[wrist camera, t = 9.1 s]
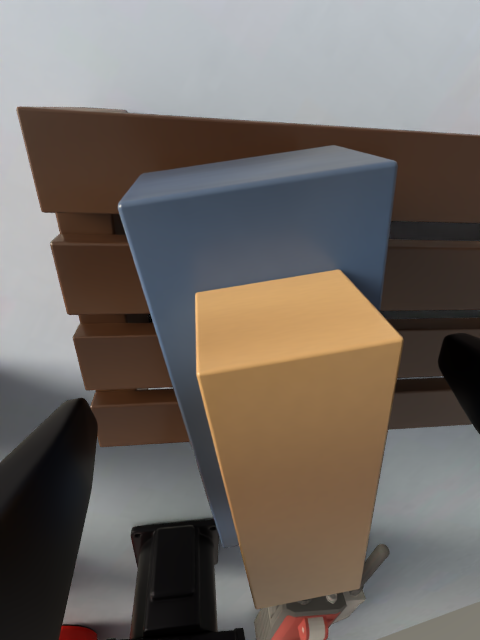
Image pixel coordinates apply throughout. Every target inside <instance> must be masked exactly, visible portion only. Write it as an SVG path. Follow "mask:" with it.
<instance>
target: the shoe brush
mask: <svg viewBox="0 0 480 640" xmlns="http://www.w3.org/2000/svg"><path fill="white" fill-rule="evenodd" d="M397 169H398V165H397V162H396V161H394V160H390V159H386V158H383V157H379V156H375V155H371V154H367V153H363V152H359V151H355V150H351V149H348V148H344V147H340V146H336V145H331V146H324V147H317V148H311V149H304V150H297V151H290V152H284V153H277V154H270V155H263V156H257V157H250V158H243V159H237V160H230V161H223V162H216V163H210V164H203V165H196V166H189V167H183V168H176V169H169V170H163V171H156V172H149V173H143V174H141V175H140V176H139V177H138V178H137V180H136V181H135V182H134V184H133V185H132V186H131V187H130V189H129V190H128V191H127V193H126V194H125V195H124V196H123V198H122V199H121V200H120V202H119V203H118V211H119V214H120V218H121V221H122V224H123V227H124V231H125V234H126V237H127V240H128V243H129V247H130V250H131V253H132V256H133V260H134V263H135V266H136V269H137V272H138V276H139V279H140V282H141V285H142V289H143V292H144V295H145V298H146V301H147V305H148V308H149V311H150V314H151V318H152V321H153V324H154V327H155V331H156V334H157V337H158V340H159V343H160V347H161V350H162V353H163V356H164V360H165V363H166V366H167V369H168V372H169V376H170V379H171V382H172V385H173V389H174V392H175V395H176V398H177V401H178V405H179V408H180V411H181V414H182V418H183V421H184V424H185V427H186V431H187V434H188V437H189V440H190V443H191V447H192V450H193V453H194V456H195V460H196V463H197V466H198V469H199V472H200V476H201V479H202V482H203V485H204V489H205V492H206V495H207V498H208V501H209V505H210V508H211V511H212V514H213V518H214V521H215V524H216V527H217V530H218V534H219V537H220V540H221V543H222V546H223V548H228V547H233V546H238V545H239V546H240V550H241V554H242V558H243V562H244V566H245V570H246V574H247V578H248V582H249V586H250V590H251V594H252V598H253V602H254V606H255V608H256V609H261V608H266V607H271V606H276V605H281V604H286V603H291V602H296V601H301V600H306V599H311V598H316V597H321V596H326V595H331V594H336V593H341V592H346V591H351V590H356V589H359V588H360V585H361V579H362V573H363V568H364V562H365V557H366V551H367V545H368V540H369V534H370V529H371V523H372V517H373V512H374V506H375V501H376V495H377V489H378V484H379V478H380V472H381V467H382V461H383V456H384V450H385V444H386V439H387V433H388V428H389V422H390V416H391V411H392V405H393V399H394V394H395V388H396V383H397V377H398V371H399V366H400V360H401V355H402V349H403V343H404V340H403V337H402V336H401V335H400V333H399V332H398V331H397V330H396V329H395V328H394V327H393V326H392V325H391V324H390V323H389V322H388V320H387V319H386V318H385V317H384V316H383V315H382V314H381V313H380V307H381V299H382V291H383V283H384V274H385V266H386V258H387V250H388V242H389V234H390V226H391V218H392V209H393V201H394V193H395V185H396V177H397Z"/></svg>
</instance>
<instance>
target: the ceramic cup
mask: <svg viewBox="0 0 480 640" xmlns="http://www.w3.org/2000/svg"><path fill="white" fill-rule="evenodd" d="M59 640H98V639H97V634H96V633H95V632H94V631H93V630H90V629H88V628H84V627H79V626H62V628H61V632H60V637H59Z"/></svg>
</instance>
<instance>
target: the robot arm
mask: <svg viewBox="0 0 480 640" xmlns="http://www.w3.org/2000/svg"><path fill="white" fill-rule="evenodd" d="M438 366H439V369H440V371H441V373H442V375H443V376H444V378H445V380H446V381H447V383H448V385H449V386H450V388H451V390H452V392H453V393H454V395H455V397H456V398H457V400H458V402H459V403H460V405H461V407H462V409H463V410H464V412H465V414H466V415H467V417H468V418H469V420H470V422H471V423H472V424H473V426H474V427H475V429H476V430H477V432H478V433H479V434H480V338H477V337H474V336H472V335H469V334H466V333H456V334H450V335H447V336H445V338H444V339H443V342H442V346H441V350H440V354H439V358H438ZM97 434H98V424H97V420H96V418H95V416H94V414H93V412H92V410H91V408H90V406H89V404H88V402H87V401H86V400H85V399H84V398H77V399H71V400H67V401H65V402H64V403H63V404H62V405H60V406H59V407H58V408H57V409H56V410H55V411H54V412H53V413H52V414H51V415H50V416H49V417H48V418H47V419H46V420H45V421H44V422H43V423H41V424H40V425H39V426H38V427H37V428H36V429H35V430H34V431H33V432H32V433H31V434H30V435H29V436H28V437H27V438H26V439H25V440H23V441H22V442H21V443H20V444H19V445H18V446H17V447H16V448H15V449H14V450H13V451H12V452H11V453H10V454H9V455H8V456H7V457H6V458H4V459H3V460H2V461H1V462H0V640H59V637H60V632H61V628H62V623H63V618H64V614H65V609H66V605H67V600H68V596H69V591H70V586H71V582H72V577H73V573H74V568H75V564H76V559H77V554H78V550H79V545H80V541H81V536H82V532H83V527H84V523H85V518H86V513H87V509H88V504H89V499H90V494H91V489H92V481H93V472H94V462H95V453H96V443H97ZM131 540H132V544H133V549H134V553H135V558H136V563H137V567H138V572H137V580H136V589H135V597H134V606H133V614H132V623H131V631H130V639H122V640H245V635H244V630H243V628H235V629H234V630H231V631H219V632H218V630H217V610H216V589H215V569H214V565H215V564H217V563H218V544H219V534H218V530H217V527H216V524H215V521H214V519H211V520H200V521H189V522H179V523H168V524H157V525H146V526H137V527H134V528H132V531H131ZM107 640H116V638H111V639H107Z"/></svg>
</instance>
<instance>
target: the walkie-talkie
mask: <svg viewBox="0 0 480 640" xmlns="http://www.w3.org/2000/svg"><path fill="white" fill-rule="evenodd" d="M389 552H390V551H389V548H388V546H386V545H384V544H379V545H378V546H377V547H376V548H375V550H374V551H373V552H372V553H371V555H370V556H369V557H368V558H367V560H366V561H365V562H364V568H363V573H362V579H361V585H360V588H359V589H356V590H351V591H346V592H341V593H336V594H331V595H326V596H321V597H316V598H311V599H306V600H301V601H296V602H291V603H286V604H281V605H276V606H271V607H266V608H262V609H261V610H260V612H259V614H258V615H257V617H256V619H255V621H254V625H255V633H256V640H326V639H327V638H328V628H329V627H330V626H331V624H334V623H336V622H338V621H341V620H343V619H345V618H347V617H349V616H350V614H351V613H352V612H353V611H354V610H355V609H356V608H357V606H358V605H359V604H361V603H363V602H364V601H365V595H364V592H363V585H364V584H365V583H366V581H367V580H368V579H369V578H370V577H371V576H372V574H373V573H374V572H375V571H376V570H377V568H378V567H379V566H380V565H381V564H382V563H383V561H384V560H385V559H386V558H387V557H388V555H389Z"/></svg>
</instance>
